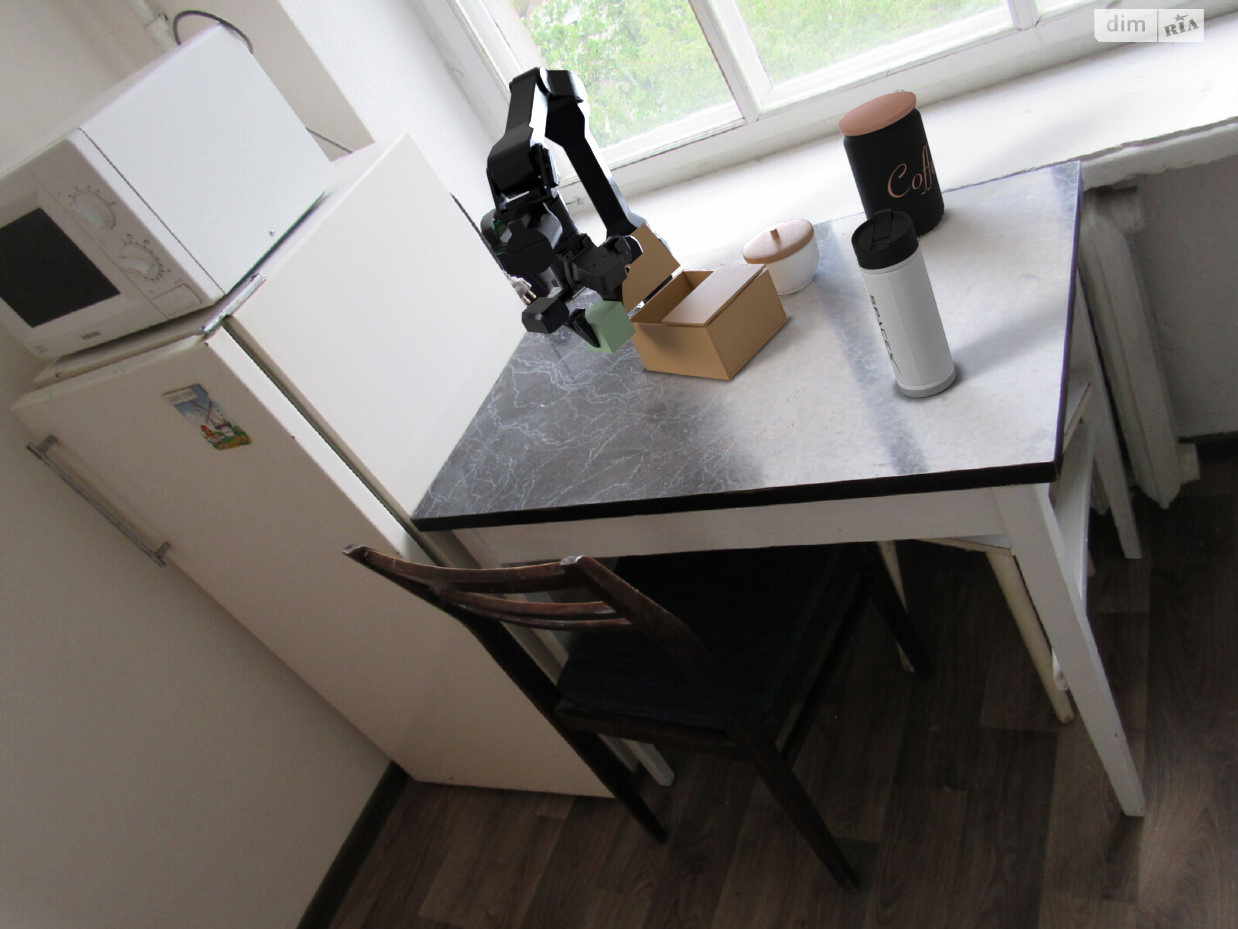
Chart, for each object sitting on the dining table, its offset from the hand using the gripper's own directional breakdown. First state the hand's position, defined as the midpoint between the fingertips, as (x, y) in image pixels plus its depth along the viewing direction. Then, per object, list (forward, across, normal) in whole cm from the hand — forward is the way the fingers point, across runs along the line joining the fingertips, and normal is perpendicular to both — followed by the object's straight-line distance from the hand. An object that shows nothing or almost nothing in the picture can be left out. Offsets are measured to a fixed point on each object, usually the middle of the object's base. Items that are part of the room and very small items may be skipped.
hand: (610, 335), depth 119 cm
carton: (+11, +12, -4) cm, 17 cm away
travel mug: (+11, +10, -40) cm, 43 cm away
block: (+1, 0, 0) cm, 1 cm away
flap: (-2, +12, +6) cm, 14 cm away
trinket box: (+11, +28, -7) cm, 31 cm away
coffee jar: (+11, +44, -18) cm, 48 cm away
